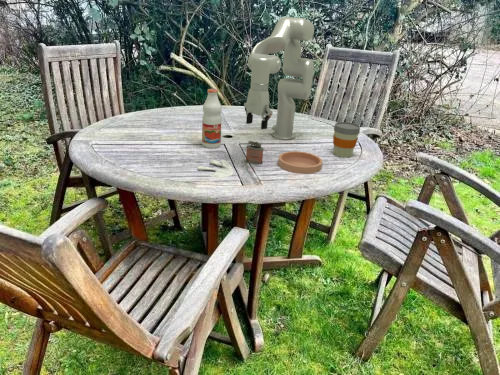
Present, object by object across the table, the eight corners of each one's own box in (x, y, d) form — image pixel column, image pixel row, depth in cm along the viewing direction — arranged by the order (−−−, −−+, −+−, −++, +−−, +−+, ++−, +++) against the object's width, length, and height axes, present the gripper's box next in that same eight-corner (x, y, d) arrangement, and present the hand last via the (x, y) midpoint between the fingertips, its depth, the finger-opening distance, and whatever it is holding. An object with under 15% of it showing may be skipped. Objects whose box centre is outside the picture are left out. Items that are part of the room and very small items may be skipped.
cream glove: (221, 183, 166) (221, 177, 165) (180, 169, 176) (180, 164, 175) (247, 168, 182) (248, 163, 181) (208, 156, 192) (208, 151, 191)
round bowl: (269, 162, 188) (269, 156, 187) (298, 154, 201) (299, 148, 200) (301, 177, 175) (302, 170, 174) (330, 167, 188) (331, 161, 186)
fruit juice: (217, 141, 210) (218, 87, 198) (223, 147, 203) (225, 91, 191) (199, 143, 207) (200, 87, 195) (205, 149, 199) (206, 92, 187)
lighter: (263, 162, 188) (265, 142, 184) (261, 165, 185) (262, 144, 181) (247, 159, 190) (248, 139, 186) (244, 162, 187) (245, 141, 183)
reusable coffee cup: (357, 153, 208) (362, 124, 202) (352, 160, 198) (357, 131, 192) (333, 148, 213) (337, 120, 206) (327, 155, 202) (331, 126, 196)
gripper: (239, 84, 176) (237, 122, 183) (267, 91, 165) (263, 132, 172) (252, 82, 181) (249, 120, 188) (280, 90, 169) (276, 130, 176)
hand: (256, 126), depth 180 cm, fingers open, 9 cm apart
